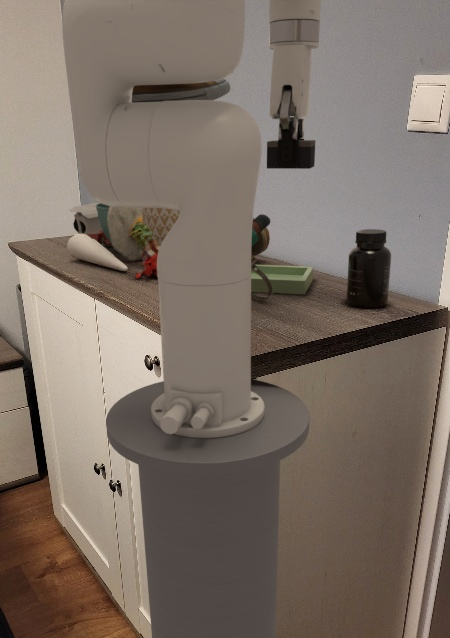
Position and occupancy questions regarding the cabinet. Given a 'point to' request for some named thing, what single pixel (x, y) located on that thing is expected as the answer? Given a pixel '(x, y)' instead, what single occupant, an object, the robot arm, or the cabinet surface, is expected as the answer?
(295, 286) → the rectangular tray
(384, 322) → the cabinet surface
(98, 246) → the long cone
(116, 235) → the fossil
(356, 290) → the supplement bottle
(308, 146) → the back pad
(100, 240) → the dental model
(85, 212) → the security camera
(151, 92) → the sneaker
